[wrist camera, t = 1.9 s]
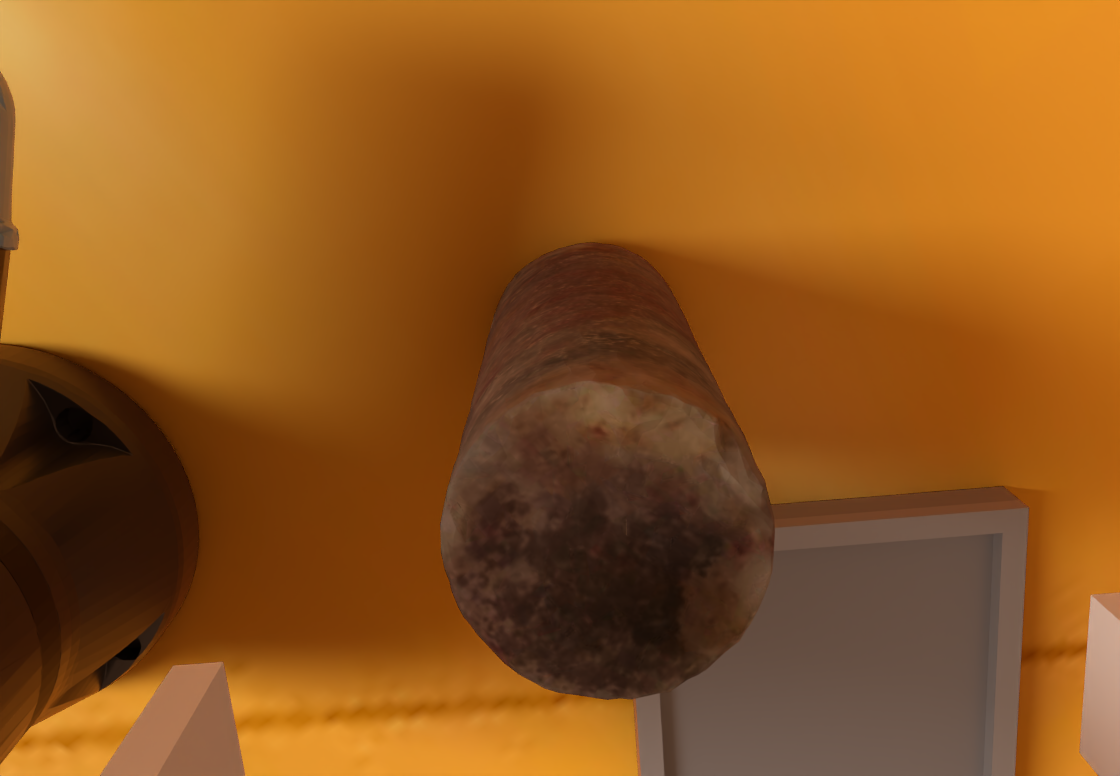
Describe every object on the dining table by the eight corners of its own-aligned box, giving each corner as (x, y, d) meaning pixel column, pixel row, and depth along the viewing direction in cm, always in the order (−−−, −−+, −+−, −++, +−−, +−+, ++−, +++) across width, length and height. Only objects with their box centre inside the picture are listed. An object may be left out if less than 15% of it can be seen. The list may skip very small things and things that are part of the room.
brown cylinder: (518, 442, 41) (496, 743, 22) (462, 272, 39) (384, 437, 20) (699, 390, 41) (840, 651, 21) (651, 215, 39) (759, 327, 19)
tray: (642, 836, 46) (647, 873, 44) (620, 516, 42) (625, 539, 40) (988, 809, 46) (1010, 845, 44) (1003, 486, 42) (1029, 507, 40)
